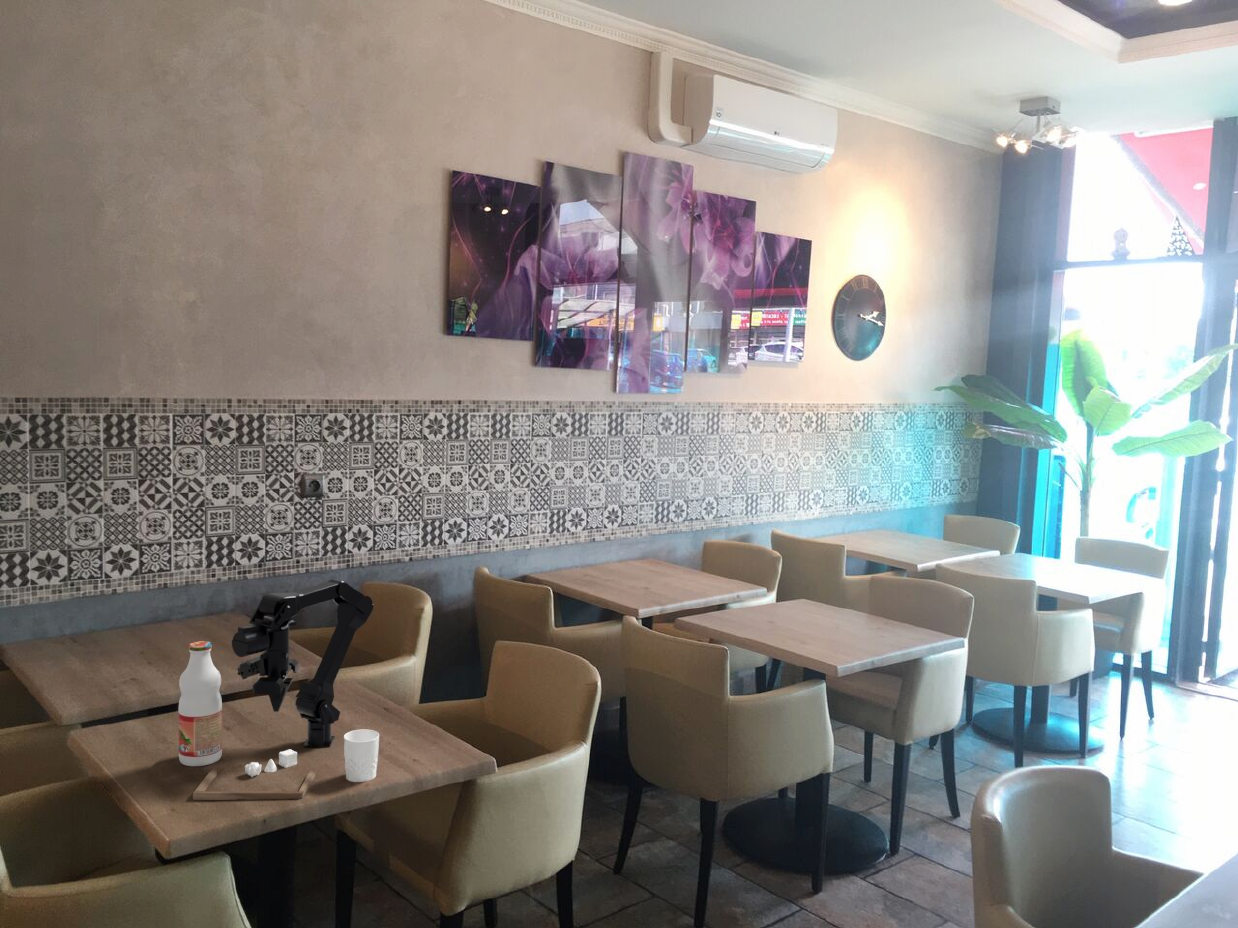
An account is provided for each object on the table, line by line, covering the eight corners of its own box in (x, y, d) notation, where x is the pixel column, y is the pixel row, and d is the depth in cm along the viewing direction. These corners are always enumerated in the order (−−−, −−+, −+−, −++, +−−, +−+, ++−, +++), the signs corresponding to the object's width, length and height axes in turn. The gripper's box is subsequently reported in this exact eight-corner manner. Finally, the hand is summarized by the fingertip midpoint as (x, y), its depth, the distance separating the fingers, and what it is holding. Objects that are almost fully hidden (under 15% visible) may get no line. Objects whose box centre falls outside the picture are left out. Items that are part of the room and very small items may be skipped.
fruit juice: (215, 767, 233) (215, 649, 230) (173, 767, 232) (172, 649, 229) (226, 751, 242) (226, 638, 239) (186, 751, 241) (186, 637, 238)
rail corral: (212, 774, 228) (212, 768, 228) (315, 775, 230) (315, 768, 230) (192, 799, 215) (192, 792, 215) (302, 799, 217) (302, 793, 217)
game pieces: (289, 761, 238) (290, 748, 238) (297, 765, 236) (297, 752, 236) (242, 775, 229) (242, 762, 229) (250, 780, 227) (250, 766, 227)
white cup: (381, 770, 234) (382, 729, 233) (374, 784, 226) (375, 742, 225) (347, 770, 234) (348, 728, 233) (339, 784, 226) (340, 741, 225)
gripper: (252, 635, 246) (252, 697, 247) (229, 658, 227) (229, 725, 229) (299, 636, 247) (298, 697, 248) (279, 659, 228) (279, 725, 230)
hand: (276, 710), depth 239 cm, fingers closed
